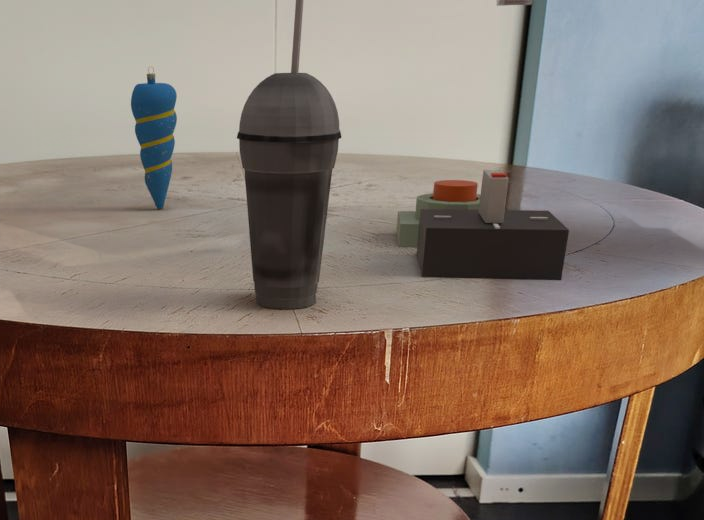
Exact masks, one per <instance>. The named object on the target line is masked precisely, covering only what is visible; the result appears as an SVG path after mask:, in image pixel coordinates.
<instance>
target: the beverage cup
mask: <svg viewBox="0 0 704 520" xmlns="http://www.w3.org/2000/svg"><path fill="white" fill-rule="evenodd" d="M303 12H304V0H295V8H294V22H293V37H292V52H291V66H290V67H291V68H290V72H274V73H273V74H270V75H269V76H267V77H266V78H264V79H263V80H261V81H260V82H259V83H258V84H257V85H256V86H255V87H254V88H253V89H252V90H251V92H250V93H249V95H248V97H247V99H246V101H245V103H244V105H243V107H242V110H241V114H240V119H239V125H238V126H239V128H238V132H237V135H236V139H238V141H239V143H238V144H239V156H240V160H241V166H242V169H244V180H245V181H244V182H245V193H246V207H247V218H248V219H247V220H248V231H249V245H250V257H251V271H252V282H253V286H254V292H255V303H256V304H257V305H259V306H261V307H265V308H269V309H277V310H294V309H295V310H296V309H302V308H308V307H311V306H313V305H314V304H316V298H317V292H318V285H319V282H320V278H321V277H320V276H321V267H322V259H323V250H324V241H325V232H326V225H327V218H328V208H329V202H330V201H329V200H330V191H331V185H332V176H333V170H334V169H335V165H336V161H337V156H338V152H339V140H340V139H342V132H341V130H340V118H339V112H338V109H337V105H336V102H335V101H334V98H333V95H332V94H331V93H330V90H328V88H327V87H326V86H325V85H324V84H323V83H322V82H321V80H319V79H318V78H316V77H315V76H313V75H311V74H309V73H307V72H299V68H300V58H301V57H300V54H301V41H302V28H303V27H302V26H303Z"/></svg>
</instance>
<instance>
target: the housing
mask: <svg viewBox="0 0 704 520" xmlns="http://www.w3.org/2000/svg"><path fill="white" fill-rule="evenodd" d="M480 196H481V194H480V193H479V194H478V193H477V195H476V201H470V202H446V201H437V200H433V192H432V193H423V194H420V195H417V196H416V201H415V210H398V211H397V217H396V219H397V220H396V240H397V246H398V248H417V242H418V231H419V219H420V209H455V210H479V204H480Z"/></svg>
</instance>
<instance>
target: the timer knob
mask: <svg viewBox="0 0 704 520" xmlns="http://www.w3.org/2000/svg"><path fill="white" fill-rule="evenodd" d="M482 171H483V172H482V179H481V188H480V195H481V196H480V204H479V214H480V215H481V217H482V219H483V220H484V222H485V223H503V219H504V211H505V210H506V201H507V195H508V187H509V180H510V179H509V177H508V174H507V173H505V172H503V171H502V170H501V169H483V170H482Z"/></svg>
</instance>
